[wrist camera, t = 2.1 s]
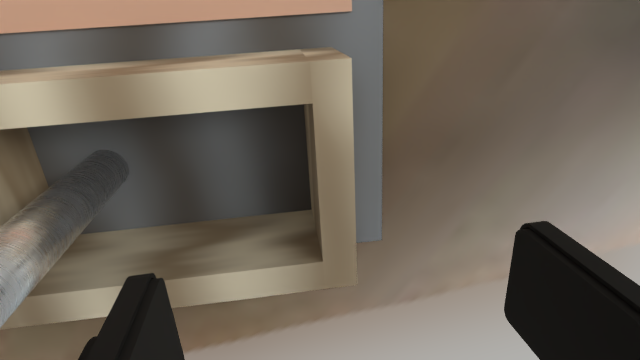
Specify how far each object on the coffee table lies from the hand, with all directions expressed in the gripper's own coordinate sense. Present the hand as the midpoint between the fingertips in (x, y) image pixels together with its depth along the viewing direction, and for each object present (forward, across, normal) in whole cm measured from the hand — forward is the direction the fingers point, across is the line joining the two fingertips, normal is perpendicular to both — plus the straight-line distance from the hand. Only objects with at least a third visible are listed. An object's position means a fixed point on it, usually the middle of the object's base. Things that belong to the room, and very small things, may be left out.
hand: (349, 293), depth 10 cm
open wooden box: (+11, +6, 0) cm, 13 cm away
